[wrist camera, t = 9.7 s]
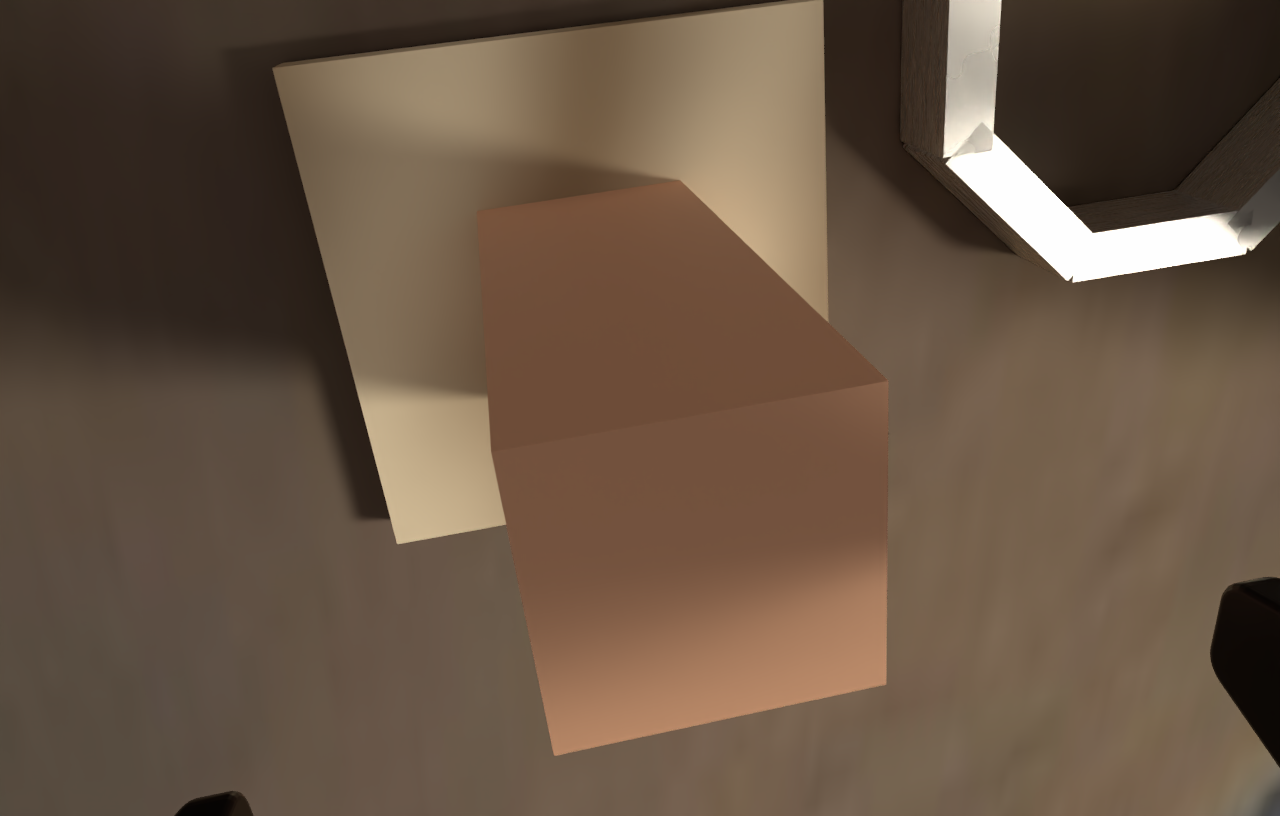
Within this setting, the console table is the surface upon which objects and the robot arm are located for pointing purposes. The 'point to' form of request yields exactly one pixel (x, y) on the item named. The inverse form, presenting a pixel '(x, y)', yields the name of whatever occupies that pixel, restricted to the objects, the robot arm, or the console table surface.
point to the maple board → (534, 196)
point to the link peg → (678, 468)
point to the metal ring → (1025, 207)
